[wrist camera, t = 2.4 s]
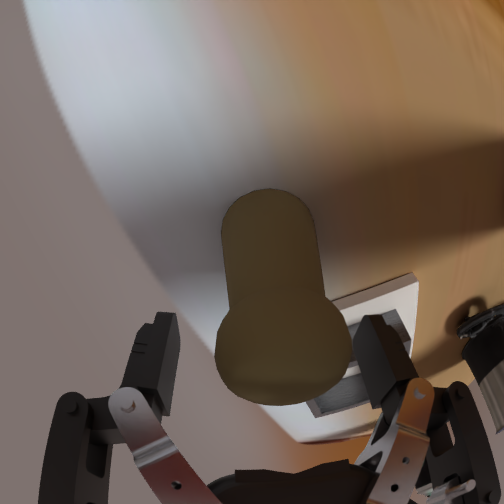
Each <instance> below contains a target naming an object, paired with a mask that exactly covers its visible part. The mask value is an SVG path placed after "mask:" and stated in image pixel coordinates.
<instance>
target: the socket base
mask: <svg viewBox="0 0 504 504" xmlns="http://www.w3.org/2000/svg"><path fill="white" fill-rule="evenodd" d="M418 285H419V281H418V279H417V278H416V277H415V275H414V274H413V272H412V273H409V274H407V275H404V276H402V277H399V278H397V279H394V280H391V281H389V282H386V283H383V284H381V285H378V286H375V287H373V288H370V289H367V290H364V291H361V292H359V293H356V294H353V295H350V296H347V297H344V298H341V299H338V300H335V301H332V303H333V304H334V305H335V306H336V307H337V308H338V310H339V311H340V312H341V313H342V315H343V316H344V319H345V322H346V324H347V326H350V325H353V324H356V323H358V322H361V320H362V318H363V316H364V315H373V314H383V313H386V312H388V311H391V310H394V309H396V310H397V312H398V314H399V316H400V318H401V320H402V322H403V324H404V326H405V328H406V330H407V332H408V334H409V336H410V338H411V347H410V354H409V357H410V359H411V353H412V347H413V340H414V332H415V323H416V313H417V301H418ZM359 373H361V371H360V368H359V365H357V366H354V367H351V368H348V369H347V371H346V374H345V375H344V376H343V378H346V377H349V376H352V375H356V374H359ZM343 378H342V379H343Z"/></svg>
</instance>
